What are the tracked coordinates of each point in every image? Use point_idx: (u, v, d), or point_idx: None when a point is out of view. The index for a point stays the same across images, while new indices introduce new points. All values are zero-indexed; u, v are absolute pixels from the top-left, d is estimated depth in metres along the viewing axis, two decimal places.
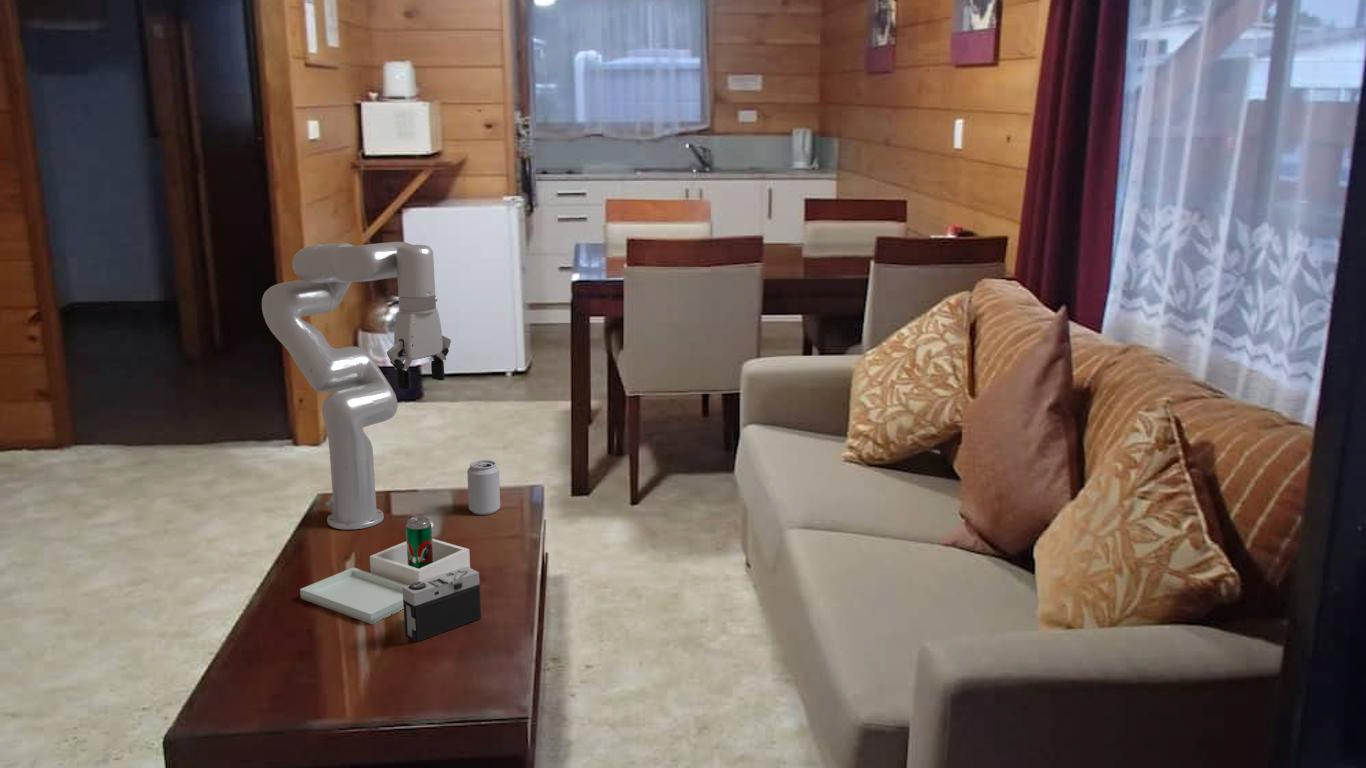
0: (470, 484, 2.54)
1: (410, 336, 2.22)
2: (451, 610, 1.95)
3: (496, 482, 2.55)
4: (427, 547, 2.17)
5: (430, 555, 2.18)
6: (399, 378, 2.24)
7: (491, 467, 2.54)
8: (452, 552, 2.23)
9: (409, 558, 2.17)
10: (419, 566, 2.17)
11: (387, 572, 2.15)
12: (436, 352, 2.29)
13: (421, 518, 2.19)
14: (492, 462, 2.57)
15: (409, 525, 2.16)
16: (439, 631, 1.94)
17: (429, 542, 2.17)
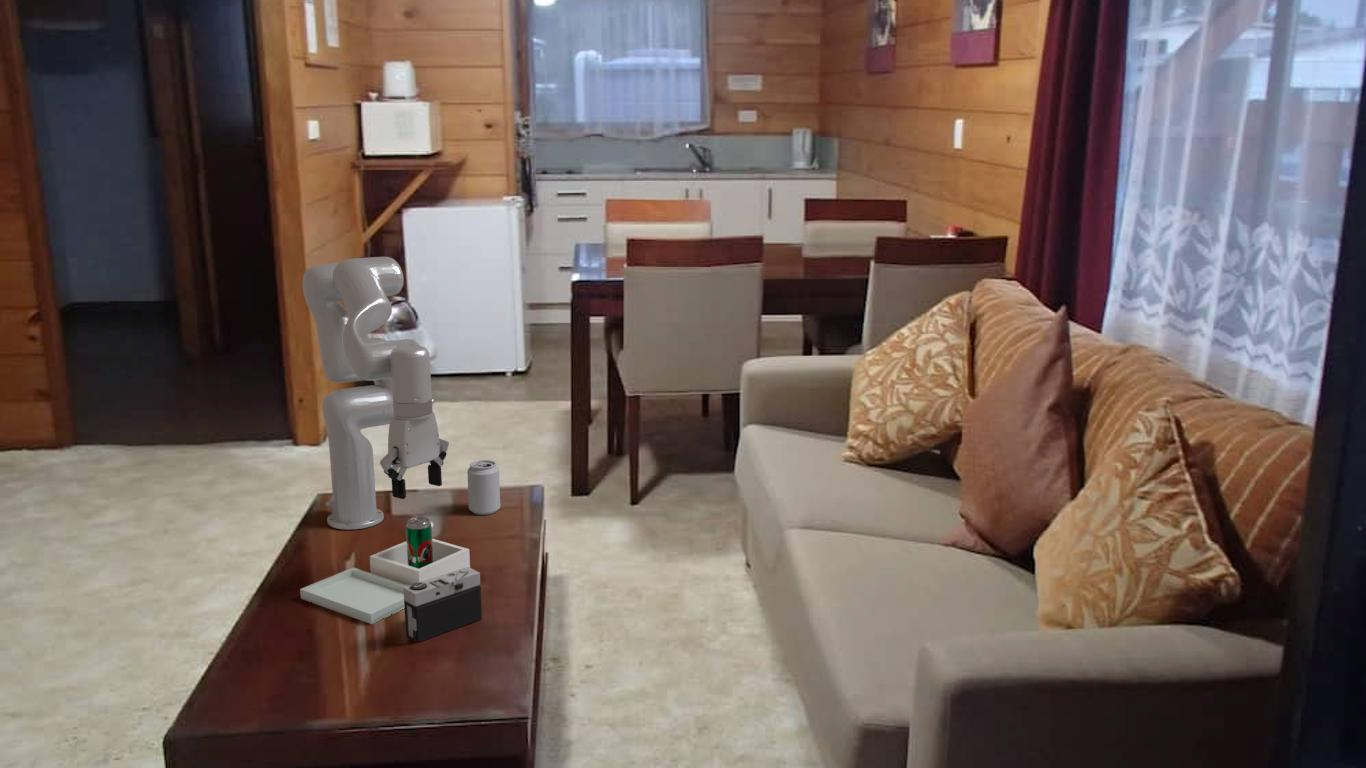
0: (470, 484, 2.54)
1: (405, 443, 2.09)
2: (452, 611, 1.95)
3: (496, 482, 2.55)
4: (427, 547, 2.17)
5: (430, 555, 2.18)
6: (393, 487, 2.11)
7: (491, 467, 2.54)
8: (452, 552, 2.23)
9: (409, 558, 2.17)
10: (419, 566, 2.17)
11: (387, 572, 2.15)
12: (433, 458, 2.15)
13: (421, 518, 2.19)
14: (492, 462, 2.57)
15: (409, 525, 2.16)
16: (440, 631, 1.94)
17: (429, 542, 2.17)
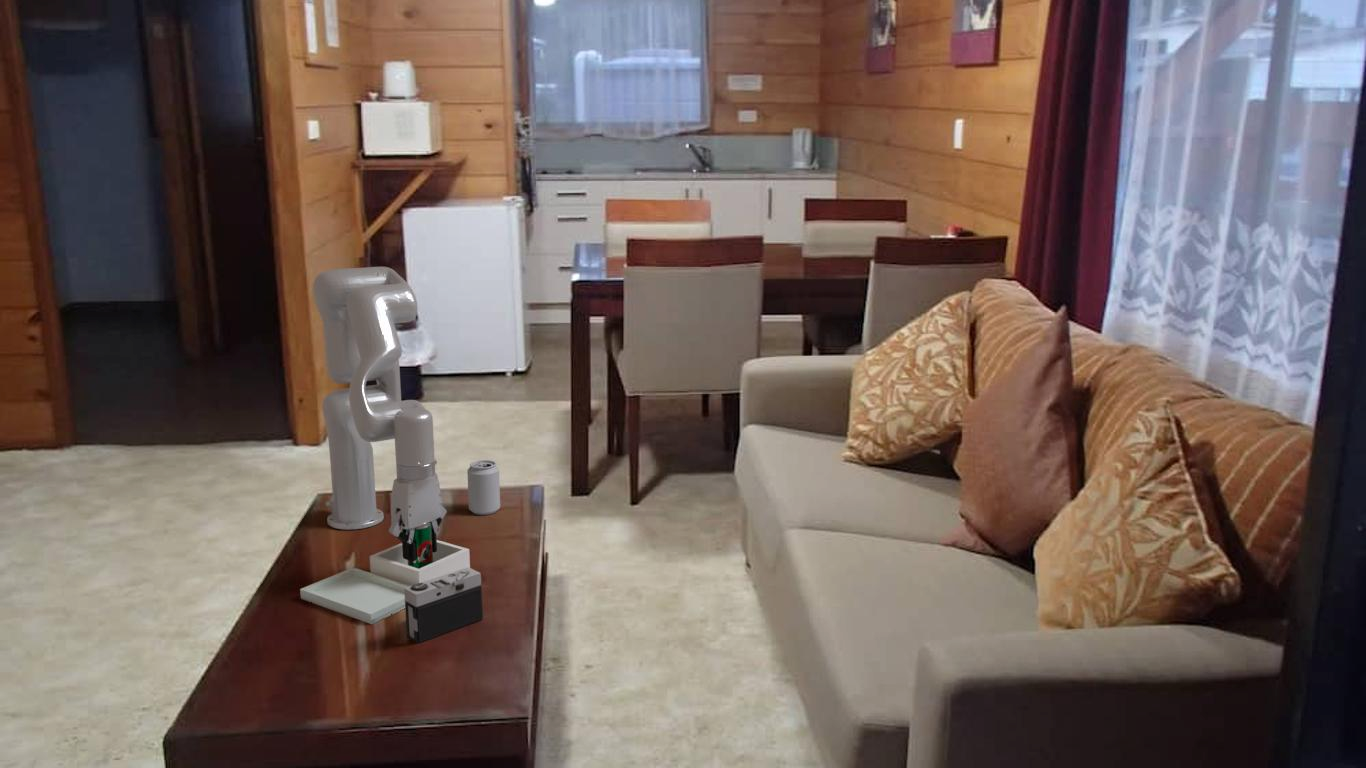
0: (470, 484, 2.54)
1: (408, 506, 2.12)
2: (453, 611, 1.95)
3: (496, 482, 2.55)
4: (427, 546, 2.17)
5: (430, 555, 2.18)
6: (404, 550, 2.16)
7: (491, 467, 2.54)
8: (452, 552, 2.23)
9: None
10: (419, 566, 2.17)
11: (387, 572, 2.15)
12: (435, 517, 2.19)
13: None
14: (492, 462, 2.57)
15: None
16: (441, 632, 1.94)
17: (429, 542, 2.17)
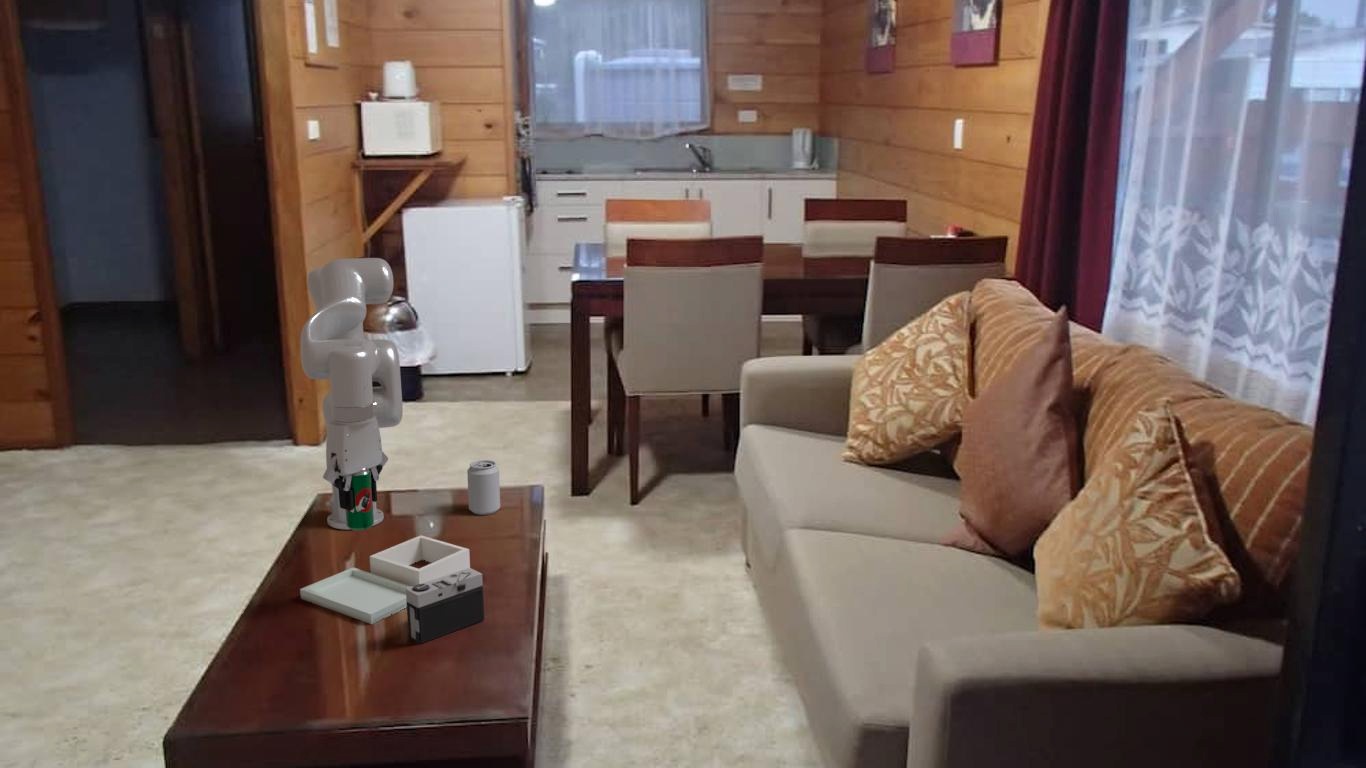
0: (470, 484, 2.54)
1: (343, 450, 1.97)
2: (454, 612, 1.95)
3: (496, 482, 2.55)
4: (366, 495, 2.03)
5: (370, 504, 2.04)
6: (340, 498, 2.01)
7: (491, 467, 2.54)
8: (452, 552, 2.23)
9: None
10: (358, 516, 2.03)
11: (387, 572, 2.15)
12: (375, 464, 2.04)
13: None
14: (492, 462, 2.57)
15: None
16: (443, 633, 1.94)
17: (368, 490, 2.03)
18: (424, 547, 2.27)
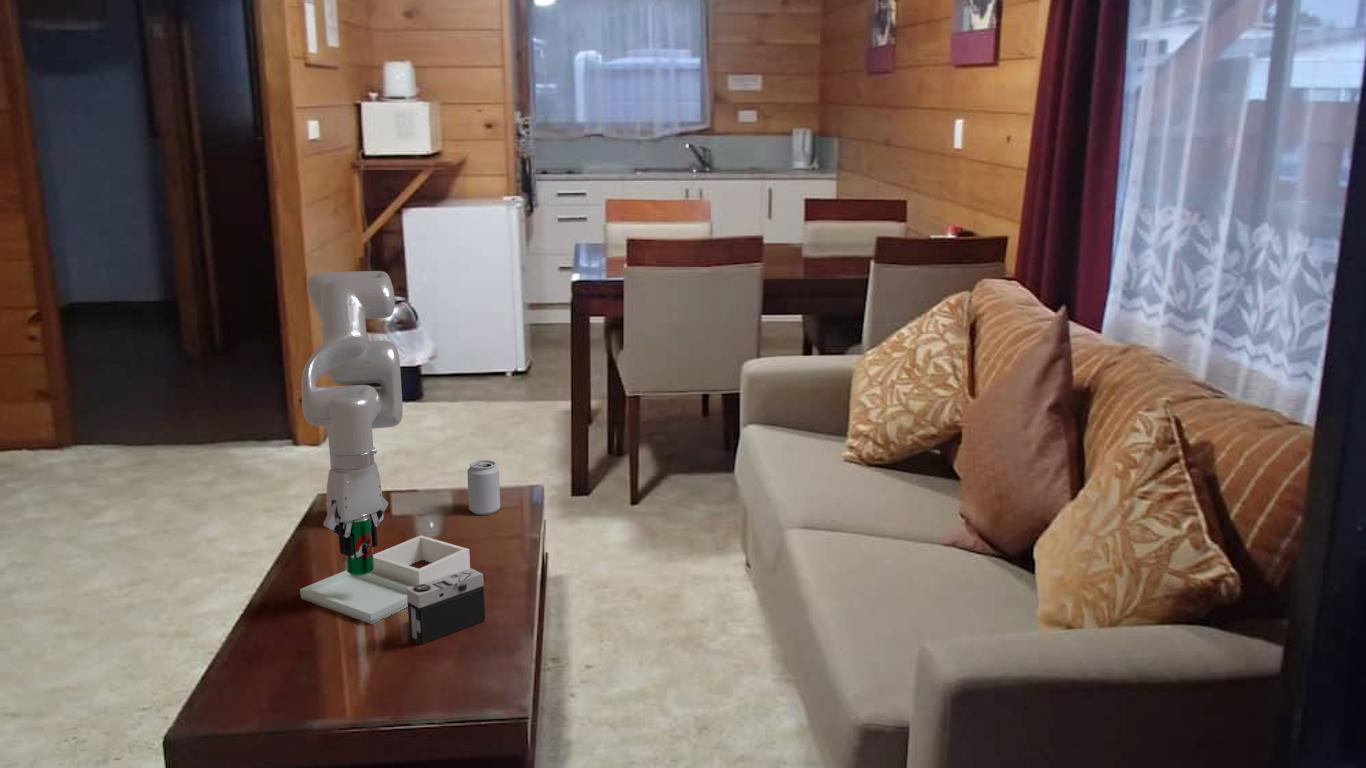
0: (470, 484, 2.54)
1: (344, 497, 1.99)
2: (455, 612, 1.95)
3: (496, 482, 2.55)
4: (366, 541, 2.04)
5: (370, 549, 2.06)
6: (340, 544, 2.03)
7: (491, 467, 2.54)
8: (452, 552, 2.23)
9: None
10: (358, 561, 2.04)
11: (387, 572, 2.15)
12: (375, 510, 2.06)
13: None
14: (492, 462, 2.57)
15: None
16: (444, 633, 1.94)
17: (368, 536, 2.05)
18: (424, 547, 2.27)
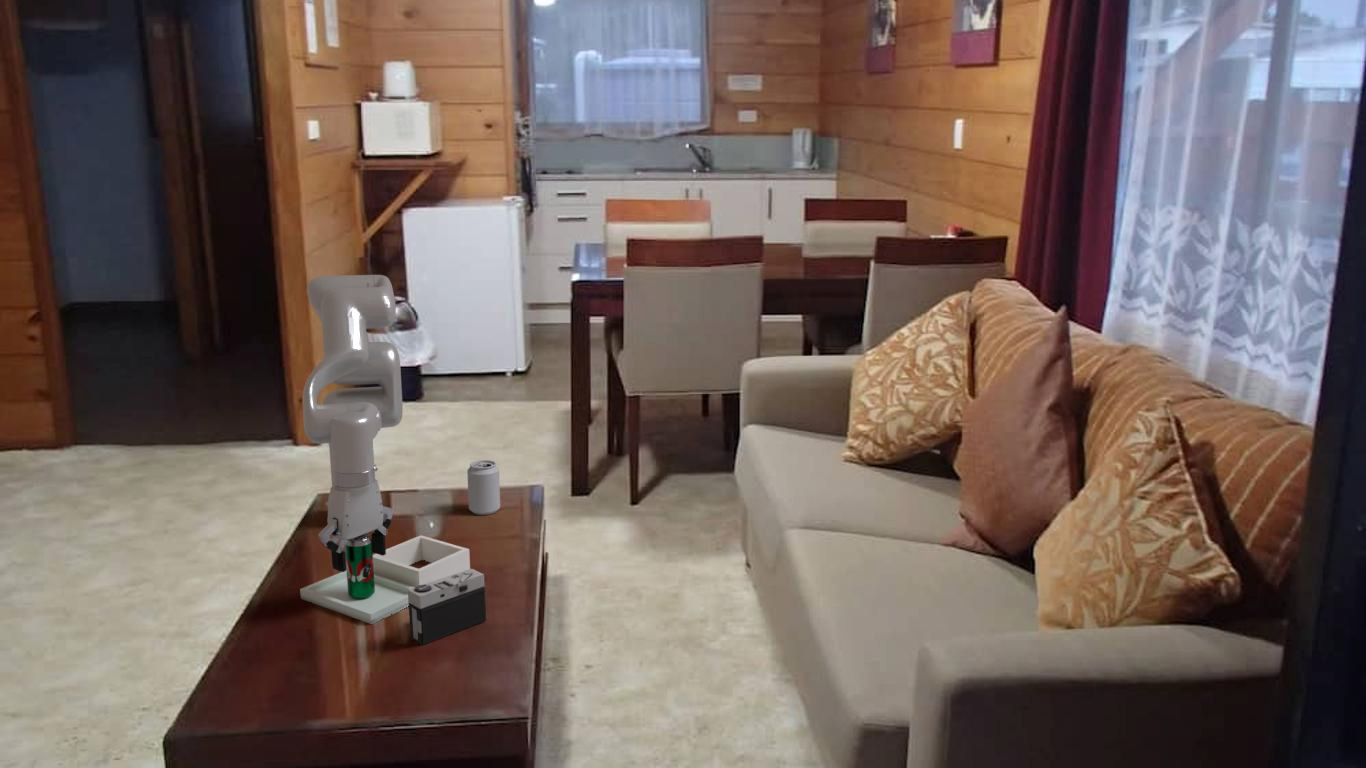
0: (470, 484, 2.54)
1: (345, 515, 2.00)
2: (456, 613, 1.95)
3: (496, 482, 2.55)
4: (367, 565, 2.06)
5: (371, 573, 2.07)
6: (333, 560, 2.02)
7: (491, 467, 2.54)
8: (452, 552, 2.23)
9: (348, 577, 2.06)
10: (359, 585, 2.06)
11: (387, 572, 2.15)
12: (376, 527, 2.07)
13: None
14: (492, 462, 2.57)
15: (348, 542, 2.05)
16: (445, 634, 1.93)
17: (369, 560, 2.06)
18: (424, 547, 2.27)
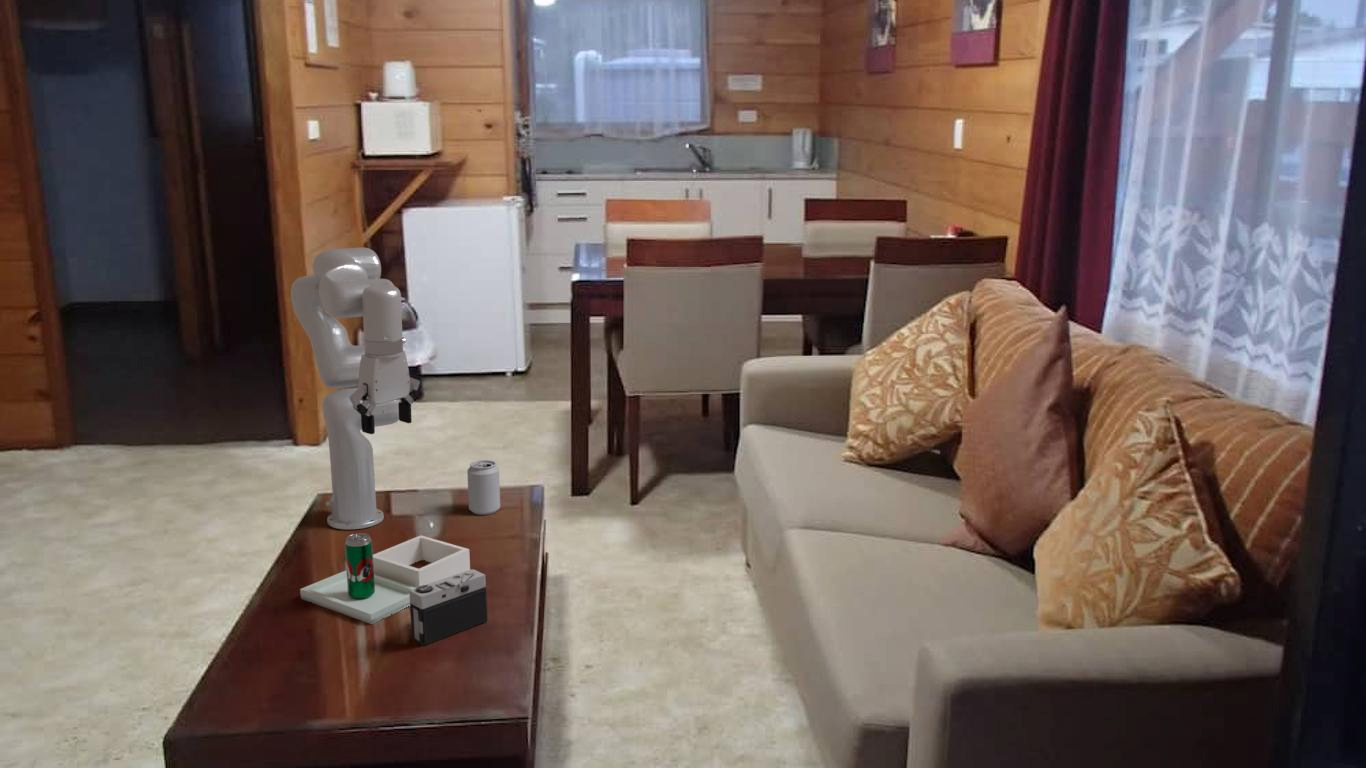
0: (470, 484, 2.54)
1: (374, 381, 2.14)
2: (458, 613, 1.94)
3: (496, 482, 2.55)
4: (367, 565, 2.06)
5: (371, 573, 2.07)
6: (362, 423, 2.17)
7: (491, 467, 2.54)
8: (452, 552, 2.23)
9: (348, 577, 2.06)
10: (359, 585, 2.06)
11: (387, 572, 2.15)
12: (403, 395, 2.21)
13: (361, 534, 2.08)
14: (492, 462, 2.57)
15: (348, 542, 2.05)
16: (446, 634, 1.93)
17: (369, 560, 2.06)
18: (424, 547, 2.27)
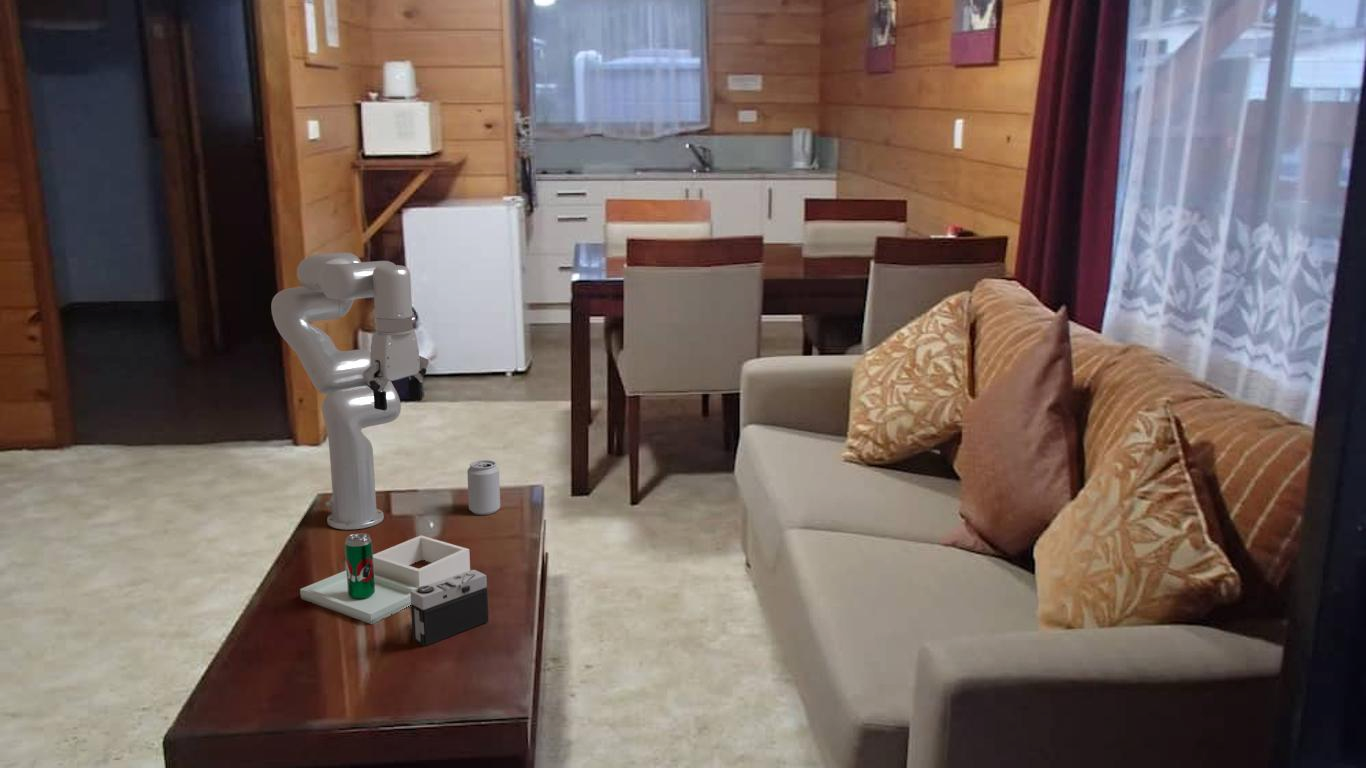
0: (470, 484, 2.54)
1: (386, 357, 2.20)
2: (459, 614, 1.94)
3: (496, 482, 2.55)
4: (367, 565, 2.06)
5: (371, 573, 2.07)
6: (375, 399, 2.22)
7: (491, 467, 2.54)
8: (452, 552, 2.23)
9: (348, 577, 2.06)
10: (359, 585, 2.06)
11: (387, 572, 2.15)
12: (413, 373, 2.27)
13: (361, 534, 2.08)
14: (492, 462, 2.57)
15: (348, 542, 2.05)
16: (447, 635, 1.93)
17: (369, 560, 2.06)
18: (424, 547, 2.27)
